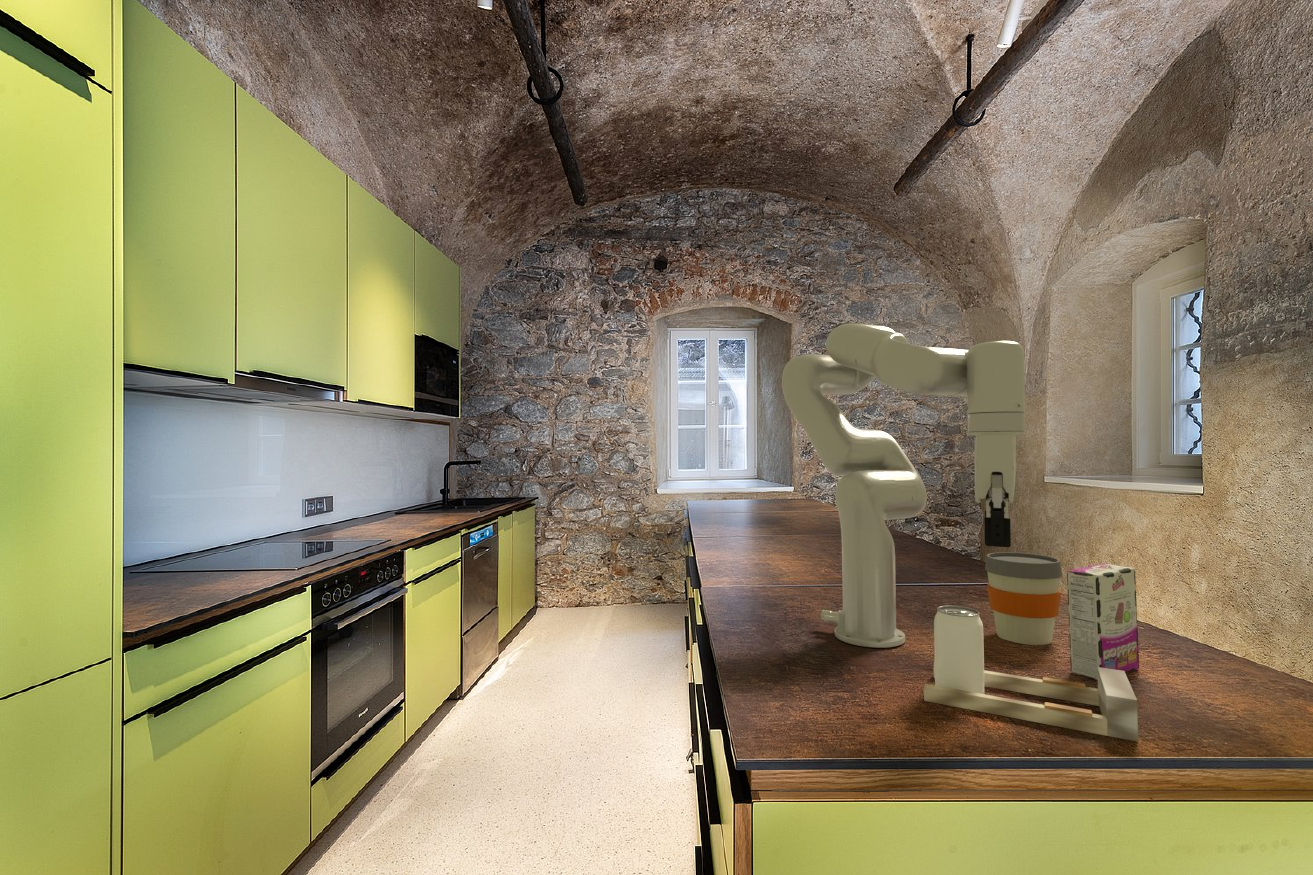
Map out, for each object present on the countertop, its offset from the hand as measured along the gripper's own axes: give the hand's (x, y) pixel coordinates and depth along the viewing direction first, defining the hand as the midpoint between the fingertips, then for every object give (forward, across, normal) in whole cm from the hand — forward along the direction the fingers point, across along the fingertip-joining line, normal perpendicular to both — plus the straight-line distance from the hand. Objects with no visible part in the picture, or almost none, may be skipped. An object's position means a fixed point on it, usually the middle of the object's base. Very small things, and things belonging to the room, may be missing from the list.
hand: (997, 541), depth 90 cm
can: (+22, +4, -5) cm, 23 cm away
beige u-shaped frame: (+22, +4, +2) cm, 22 cm away
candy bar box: (+22, -17, +15) cm, 31 cm away
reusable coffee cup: (+22, -31, +4) cm, 39 cm away
